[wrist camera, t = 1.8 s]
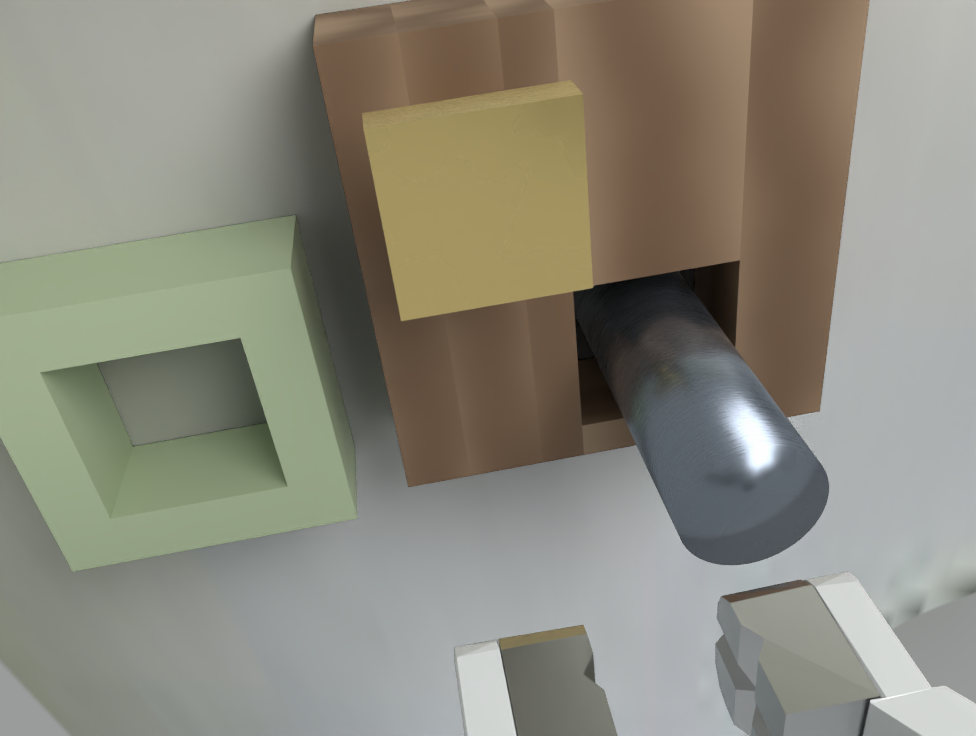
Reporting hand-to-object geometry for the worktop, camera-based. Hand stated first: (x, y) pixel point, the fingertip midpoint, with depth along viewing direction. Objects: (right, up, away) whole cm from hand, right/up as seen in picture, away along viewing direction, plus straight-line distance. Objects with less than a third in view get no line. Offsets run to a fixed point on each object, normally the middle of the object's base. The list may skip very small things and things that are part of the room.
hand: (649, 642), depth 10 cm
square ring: (-13, +3, +21) cm, 25 cm away
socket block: (+1, +9, +20) cm, 22 cm away
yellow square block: (-3, +10, +15) cm, 18 cm away
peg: (+3, +6, +22) cm, 23 cm away
